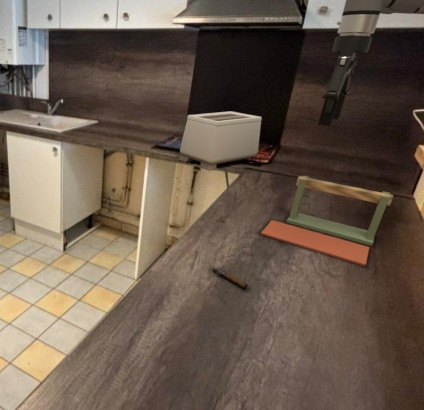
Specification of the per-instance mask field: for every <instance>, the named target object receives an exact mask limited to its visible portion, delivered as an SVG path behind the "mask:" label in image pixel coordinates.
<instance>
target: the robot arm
mask: <svg viewBox="0 0 424 410" xmlns="http://www.w3.org/2000/svg"><path fill="white" fill-rule="evenodd" d="M380 14H381V15H392V14H405V15H406V14H407V15H424V0H345V2H344V8H343V11H342V14H341V17H340V18H341V20H337V21H336V25H337V26H338V29H337V34H338V36H336V37H335V38H334V42H333V45H332V49H331V51H332V53H341V55H339V56H338V57H337V58H336V62H335V64H334V70H333V72H332V74H331V78H330V81H329V83H328V86H327V89H326V92H325V93H324V94H322V97H321V99H323V100H324V102H323V105H322V109H321V113H320V116H319V120H318V123H317V126H325V127H331V125H332V123H333V120H337V121H338V120H340V117H341V112H342V109H343V106H344V103H345V99H346V96H350V93H351V91H349V87H350V83H351V79H352V76H353V73H354V70H355V67H356V65H357V56H356V54H366V53H368V52H369V50H370V47H371V43H372V39H373V37H372V36H371V35H373V34H374V33H375V31H376V27H377V25H378V21H379V19H380V17H381V16H380Z"/></svg>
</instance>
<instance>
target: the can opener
mask: <svg viewBox="0 0 424 410" xmlns="http://www.w3.org/2000/svg"><path fill="white" fill-rule="evenodd" d="M212 271H213V272H216V274H218V275H223V277H224V278H225V279H227V280H229V281H231V282H232V283H234V284H236V285H238V286H239V287H241V288H244V289H247V288H248V286H249V285H248V284H247V282H245V281H243V280H241V279H239V278H237V277H234V276H233V275H231V274H229V273H228V272H225V271H224V270H223V269H221V268H218V267H216V266H213V267H212Z"/></svg>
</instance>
